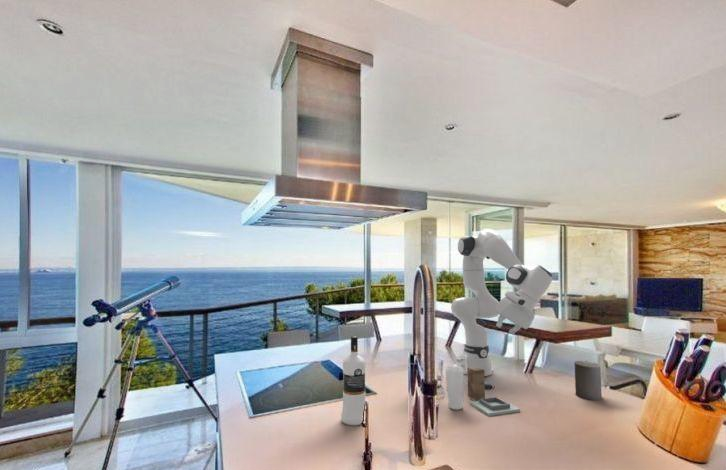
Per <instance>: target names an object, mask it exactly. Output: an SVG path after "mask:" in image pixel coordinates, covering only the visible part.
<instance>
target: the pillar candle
mask: <svg viewBox="0 0 726 470" xmlns="http://www.w3.org/2000/svg"><path fill="white" fill-rule="evenodd" d="M601 374H602V373H601V364H599V363H597V362H594V361H587V360H575V361H574V384H575V386H574V388H575V396H576V397H579V398H582V399H585V400H589V401H590V400H591V401H600V400H602V395H603V394H602V376H601Z"/></svg>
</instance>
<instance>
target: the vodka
mask: <svg viewBox="0 0 726 470" xmlns="http://www.w3.org/2000/svg"><path fill="white" fill-rule="evenodd" d="M358 338H359V336H357V335H352V336H351V337H350V354H349V355H348V356H347V357H346V358H344V360H343V362H342V376H343V377H342V379H343V381H342V383H343V386H342V387H343V389H342V390H343V391H342V412H341V414H340V415H341V417H340V419H341V422H342V423H344V424H345V425H347V426H352V427H353V426H354V427H355V426H360V425H361V426H362V424H361V423H362V415H363V408H364V403H365V404H366V360H365V358H363V356H361V355H360V354H359V352H358V351H359V350H358V348H359V347H358V346H359V345H358V340H359V339H358Z"/></svg>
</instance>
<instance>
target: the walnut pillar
mask: <svg viewBox="0 0 726 470" xmlns="http://www.w3.org/2000/svg"><path fill="white" fill-rule="evenodd" d="M466 375H467V397H469V398H471V399H472V401H479V399H482V398H486V393H485V392H486V387H485V385H486V384H485V380H486V379H485V376H484V369H482V368H479V367H467V374H466Z"/></svg>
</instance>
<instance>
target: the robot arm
mask: <svg viewBox="0 0 726 470" xmlns="http://www.w3.org/2000/svg"><path fill="white" fill-rule="evenodd" d="M457 249H458V250H457V251H458V252H459V254H460V255H461V256H463V257H462V277H463V278H462V280H463V281H462V282H463V286H464V288H466V290H469V291H471V292H472V293H473V294H474V296H473V297H471V296H470V297H469V296H466V297H465V296H464V297H463V296H462V297H458V298H457V297H456V298H455V299H453V301H452V302H451V305H450V308H451V313H452V314H453V316H454V317H455V318H457V319H458V320H459V321H460V322H461V324H462V326H463V329H464V334H465V343H464V344H463V351H462V352H461V353H459V354H458V356H457V357H456V363H454V364H452V366H454V367H460V368H462V369H463V373H464V375H467V367H479V368H482V369H484V377H488V376H491V375H492V374H493V372H494V369H493V366H492V359H491V354H489V353H490V347H489V343H488V341H489V340H488V338H489V337H488V330H487V329H486V328H485V327H484V326H483V325H481V324H478V323H477V320H476V319H491V318H496V317H497V322H496V324H495V327H498V328H500V329H502V328H503V326H504V325H503V323H504V321H505V320H508V321H510V322H511V323H513V324H514V326H513V327H512V328H510V329H509V331H508V333H509V334H511V335H512V336H514V335H515V333H516V332H518V331H519V330H521V329H522V328H523V329H524V330H527V329H529V328H530V327H531V325H532V323H533V321H534V319H535V315H536V309H535V308H536V306H537V305H538V303H539V301H540V298H541V297H542V296H543V295H544V294H545V293H546V292H547V290H548V289H549V287H550V285H551V283H552V281H553V278H554V277H553V274H552V273H551V272H550V271H549V270H547V269H546V268H545V267H543V265H540V264H536V265H530V266H529V265H527V266H526V265H524V264H523V263H522V261H520V259H519V257H517V255H516V254H515V253H514V251H513V250H512V248H511V247H510V246H509V244H508V243H507V241H506V240H505V239H504V238H503V237H502V236H501V235H500V234H499V233H497V232H496V231H494V230H493V229H491V228H484V229H482V230H480V232H479V233H478V234H477V235H466V236H462V237H460V238H459V240H458V243H457ZM485 258H486V259H487V260H491V261H493V262H495V263H496V264H498V265H500V266H502V267H503V268H505V269H507V271H506V273H505V279H506V282H507V283H508V284H509V285H510V286H512V287H513V288H515V289H516V290H517V291H508V290H507V291H506V292H505V294H504V297H502V298H501V300H500V301H499V300H498V299H497V298H496V297H494V296H493V295H492V294H491V293H490V291H489V289H488V288H487V284H486V279H485V271H484V260H485Z"/></svg>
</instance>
